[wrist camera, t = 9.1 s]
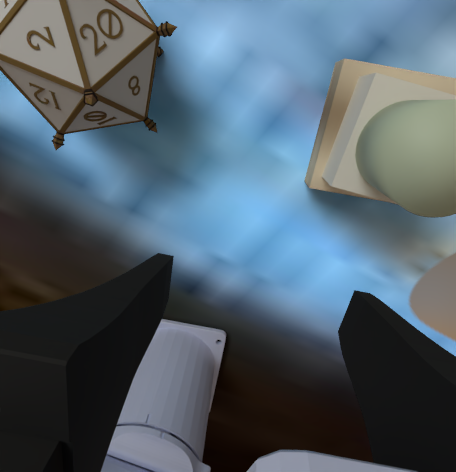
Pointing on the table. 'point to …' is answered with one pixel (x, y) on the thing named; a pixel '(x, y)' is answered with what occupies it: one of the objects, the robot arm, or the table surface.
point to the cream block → (356, 117)
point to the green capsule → (412, 155)
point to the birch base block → (338, 102)
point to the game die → (81, 60)
